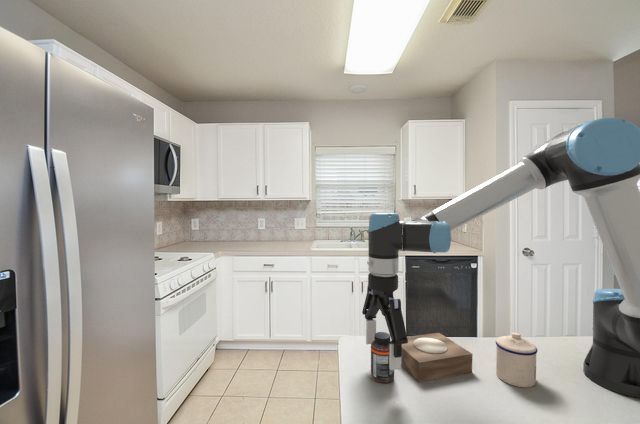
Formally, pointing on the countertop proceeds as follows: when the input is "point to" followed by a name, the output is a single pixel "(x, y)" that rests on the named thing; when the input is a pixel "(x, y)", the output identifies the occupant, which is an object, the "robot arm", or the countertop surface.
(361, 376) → the countertop surface
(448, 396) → the countertop surface
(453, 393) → the countertop surface
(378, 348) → the supplement bottle
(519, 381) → the cream ceramic oval pot
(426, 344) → the walnut stand
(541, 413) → the countertop surface
